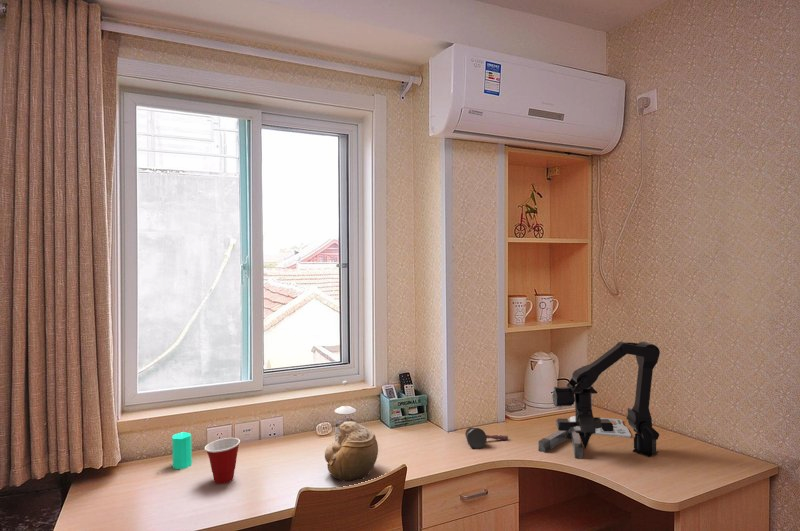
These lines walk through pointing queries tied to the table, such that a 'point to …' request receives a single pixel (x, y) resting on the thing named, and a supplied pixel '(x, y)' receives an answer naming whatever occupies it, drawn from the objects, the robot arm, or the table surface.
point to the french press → (343, 411)
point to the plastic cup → (223, 458)
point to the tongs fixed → (554, 440)
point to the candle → (182, 450)
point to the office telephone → (618, 428)
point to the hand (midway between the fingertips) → (585, 448)
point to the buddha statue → (352, 452)
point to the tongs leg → (576, 444)
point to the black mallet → (480, 437)
